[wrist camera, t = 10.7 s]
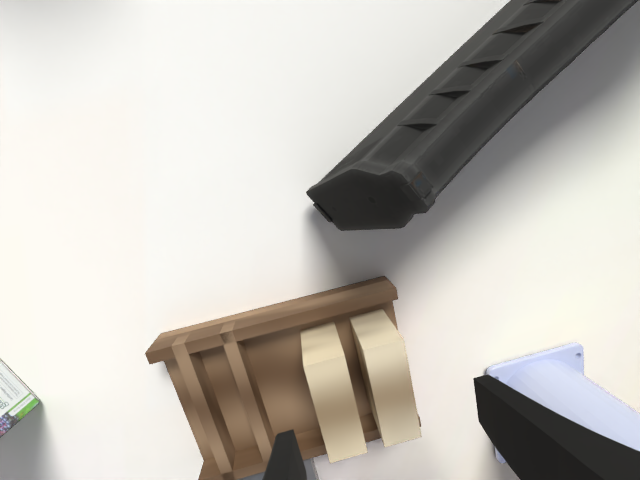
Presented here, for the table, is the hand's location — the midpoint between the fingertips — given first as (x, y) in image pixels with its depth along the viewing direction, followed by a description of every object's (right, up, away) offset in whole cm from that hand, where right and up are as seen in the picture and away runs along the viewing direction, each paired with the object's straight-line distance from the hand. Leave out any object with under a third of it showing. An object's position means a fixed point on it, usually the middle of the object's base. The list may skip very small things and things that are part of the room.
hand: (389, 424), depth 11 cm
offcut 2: (+1, -1, +10) cm, 11 cm away
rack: (-5, -3, +11) cm, 12 cm away
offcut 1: (-2, -2, +10) cm, 11 cm away
